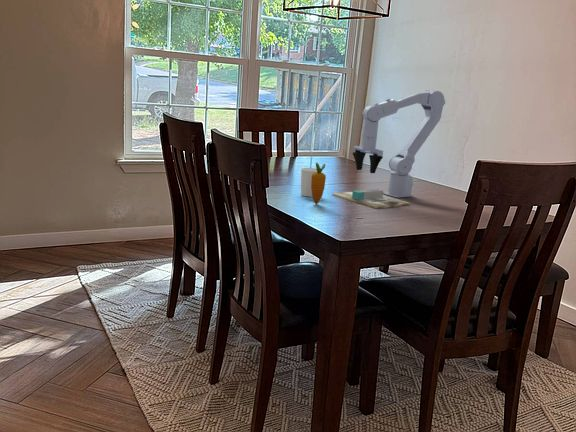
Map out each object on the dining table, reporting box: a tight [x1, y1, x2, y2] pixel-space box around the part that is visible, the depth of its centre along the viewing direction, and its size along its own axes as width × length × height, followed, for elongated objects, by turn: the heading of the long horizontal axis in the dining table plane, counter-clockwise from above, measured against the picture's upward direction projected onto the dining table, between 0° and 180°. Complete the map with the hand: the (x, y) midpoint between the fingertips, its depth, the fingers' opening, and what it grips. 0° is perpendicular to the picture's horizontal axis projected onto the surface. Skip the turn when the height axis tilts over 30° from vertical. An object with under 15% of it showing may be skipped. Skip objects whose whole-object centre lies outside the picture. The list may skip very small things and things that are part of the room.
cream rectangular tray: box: [331, 191, 411, 209], centre depth 203 cm, size 18×24×2 cm
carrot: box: [311, 162, 327, 205], centre depth 187 cm, size 5×5×15 cm
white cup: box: [300, 167, 323, 198], centre depth 203 cm, size 8×8×10 cm
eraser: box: [352, 188, 385, 200], centre depth 202 cm, size 14×3×3 cm, turn 126°
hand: (365, 171), depth 211 cm, fingers open, 7 cm apart
